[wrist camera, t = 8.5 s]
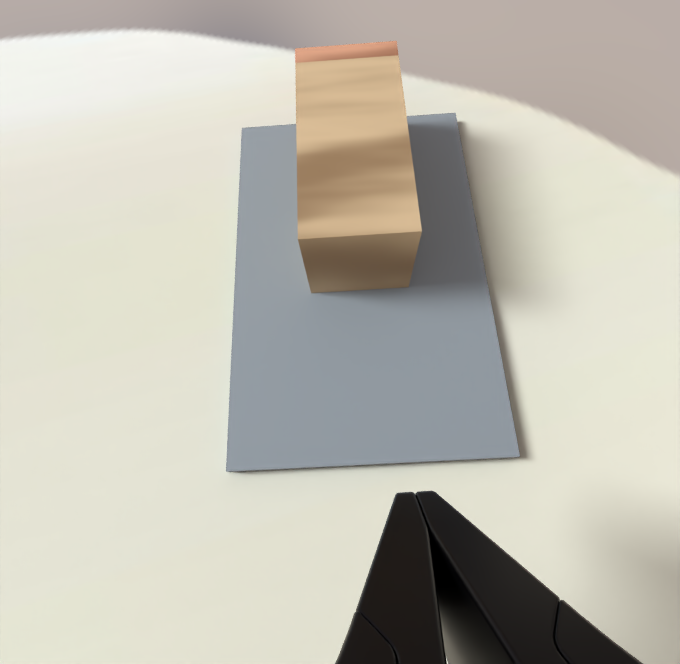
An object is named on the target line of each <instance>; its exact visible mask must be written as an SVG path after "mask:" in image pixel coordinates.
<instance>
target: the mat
mask: <svg viewBox="0 0 680 664" xmlns="http://www.w3.org/2000/svg"><path fill="white" fill-rule="evenodd" d="M407 124H408V131H409V138H410V146H411V153H412V161H413V168H414V176H415V183H416V191H417V198H418V206H419V213H420V221H421V228H422V233H421V237H420V241H419V246H418V250H417V254H416V258H415V262H414V266H413V270H412V275H411V279H410V283H409V287H404V288H387V289H371V290H355V291H338V292H322V293H311V291H310V287H309V283H308V279H307V275H306V271H305V267H304V262H303V258H302V254H301V250H300V246H299V242H298V220H297V141H296V124H291V125H276V126H262V127H248V128H242V138H241V159H240V181H239V203H238V224H237V246H236V268H235V289H234V311H233V332H232V354H231V376H230V397H229V419H228V441H227V462H226V471H227V472H238V471H258V470H278V469H297V468H317V467H337V466H357V465H376V464H396V463H416V462H436V461H455V460H475V459H495V458H515V457H520V453H519V448H518V443H517V438H516V432H515V427H514V422H513V416H512V411H511V406H510V400H509V395H508V390H507V384H506V379H505V374H504V369H503V363H502V358H501V353H500V347H499V342H498V337H497V331H496V326H495V321H494V315H493V310H492V305H491V299H490V294H489V289H488V284H487V278H486V273H485V268H484V262H483V257H482V252H481V246H480V241H479V236H478V230H477V225H476V220H475V214H474V209H473V204H472V199H471V193H470V188H469V183H468V177H467V172H466V167H465V161H464V156H463V151H462V145H461V140H460V135H459V129H458V124H457V119H456V114H455V113H446V114H431V115H417V116H407Z"/></svg>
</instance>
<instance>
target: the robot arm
mask: <svg viewBox="0 0 680 664" xmlns="http://www.w3.org/2000/svg"><path fill="white" fill-rule="evenodd" d="M559 601H560V602H559ZM445 654H446V655H445ZM446 657H447V661H448V664H643V663H641V662H640V661H639V660H637V659H636V658H635V657H633V656H632V655H631V654H629V653H628V652H627V651H625V650H624V649H623V648H621V647H620V646H619V645H617V644H616V643H615V642H613V641H612V640H611V639H610V638H608V637H607V636H606V635H605V634H604V633H602V632H601V631H600V630H599V629H597V628H596V627H595V626H594V625H592V624H591V623H590V622H589V621H588V620H586V619H585V618H584V617H583V616H581V615H580V614H579V613H578V612H577V611H576V610H574V609H573V608H572V607H571V606H570V605H568V604H567V603H566V602H565V601H564V600H560V599H559V597H558V596H557V595H556V594H555V593H553V592H552V591H551V590H550V589H549V588H547V587H546V586H545V585H544V584H543V583H542V582H540V581H539V580H538V579H537V578H536V577H535V576H533V575H532V574H531V573H530V572H529V571H527V570H526V569H525V568H524V567H523V566H522V565H520V564H519V563H518V562H517V561H516V560H515V559H513V558H512V557H511V556H510V555H509V554H507V553H506V552H505V551H504V550H503V549H502V548H500V547H499V546H498V545H497V544H496V543H495V542H493V541H492V540H491V539H490V538H489V537H487V536H486V535H485V534H484V533H483V532H482V531H480V530H479V529H478V528H477V527H476V526H475V525H473V524H472V523H471V522H470V521H469V520H467V519H466V518H465V517H464V516H463V515H462V514H460V513H459V512H458V511H457V510H456V509H455V508H453V507H452V506H451V505H450V504H449V503H447V502H446V501H445V500H444V499H443V498H442V497H440V496H439V495H438V494H437V493H436V492H434V491H421V492H417V493H416V494H414V493H413V492H405V493H397V494H396V495H395V498H394V501H393V504H392V506H391V509H390V512H389V515H388V518H387V521H386V524H385V527H384V530H383V533H382V536H381V539H380V541H379V544H378V547H377V550H376V553H375V556H374V559H373V562H372V565H371V568H370V571H369V574H368V577H367V579H366V582H365V585H364V588H363V591H362V594H361V597H360V600H359V603H358V606H357V609H356V612H355V613H354V616H353V619H352V622H351V625H350V627H349V630H348V633H347V636H346V638H345V641H344V643H343V646H342V648H341V651H340V654H339V656H338V659H337V661H336V663H335V664H447V663H446Z"/></svg>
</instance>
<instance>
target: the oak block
mask: <svg viewBox="0 0 680 664" xmlns="http://www.w3.org/2000/svg"><path fill="white" fill-rule="evenodd" d="M295 62H296V141H297V220H298V242H299V246H300V250H301V254H302V258H303V262H304V267H305V271H306V275H307V279H308V283H309V287H310V291H311V293H322V292H338V291H355V290H371V289H387V288H404V287H409V283H410V279H411V275H412V270H413V266H414V262H415V258H416V254H417V250H418V246H419V241H420V237H421V233H422V228H421V221H420V213H419V206H418V198H417V191H416V183H415V176H414V168H413V161H412V153H411V146H410V138H409V131H408V124H407V116H406V109H405V101H404V94H403V86H402V79H401V71H400V64H399V56H398V49H397V41H389V42H376V43H364V44H349V45H337V46H323V47H310V48H296V49H295Z"/></svg>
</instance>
